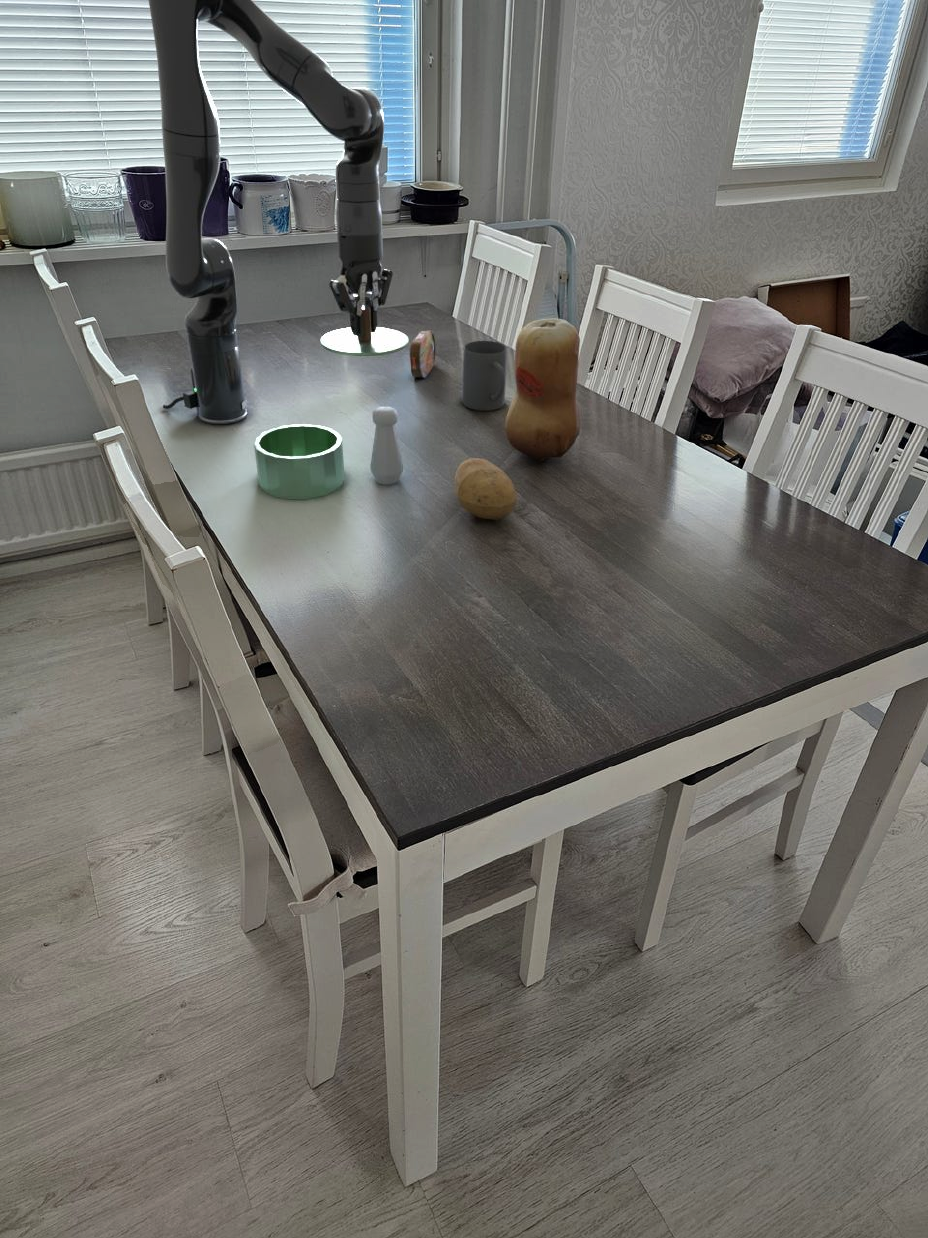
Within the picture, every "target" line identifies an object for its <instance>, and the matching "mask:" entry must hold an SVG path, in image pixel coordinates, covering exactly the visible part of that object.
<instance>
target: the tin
mask: <svg viewBox="0 0 928 1238" xmlns="http://www.w3.org/2000/svg"><path fill="white" fill-rule="evenodd" d="M409 361H410V362H409V363H410V373H411V375H412V377H413V378H424V379H425V378H427V376H428V374H429V373H430V371H431V370H432V369H433V367H434V365H435V363H436V362H435V361H436V339H435V334H434V332H433V330H421V331H419V333H418V334H417V335H416V336H415V338H414V339H413V340H412V341H411V343H410V346H409Z"/></svg>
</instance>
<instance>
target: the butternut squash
mask: <svg viewBox="0 0 928 1238" xmlns="http://www.w3.org/2000/svg"><path fill="white" fill-rule="evenodd" d="M580 344H581V338H580V335H579V332H578V330H577V328H576V327H575V326H574V325H573V324H571V323H570V322H569V321H567V320H565V319H562V318H557V317H555V318H552V317H551V318H541V319H536V320H534V321H530V322H529V323H527V324H526V325H525V326H524V327H522V328H521V330H520V331H519V333H518V335H517V338H516V341H515V349H514V362H513V365H514V366H513V368H514V370H513V371H514V372H513V373H514V381H515V385H516V389H515V395H514V396H513V399H512V401H511V403H510V405H509V408H508V410H507V414H506V417H505V425H504V426H505V429H504V431H505V436H506V438H507V440H508V443H509V444H510V445H511V447H512V448H514V449H515V450H516V451H517V452H519V453H521V454H522V455H524V456H526V457H527V458H529V459H531V460H535V461H538V462H542V461H544V460H545V459H550V458H558V459H559V458H562V457H563V456H564V455H565V454H566V453H568V452H569V451H570V449H571V448H572V447H573V445H574V444H575V442H576V440H577V438H578V437H579V435H580V431H581V429H580V428H581V418H580V410H579V409H580V408H579V405H578V402H577V390H578V376H579V375H578V374H579V357H580Z"/></svg>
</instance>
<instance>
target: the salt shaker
mask: <svg viewBox="0 0 928 1238" xmlns="http://www.w3.org/2000/svg"><path fill="white" fill-rule="evenodd" d="M398 420H399V415H398V410H397V409H395V408H394V407H392V406H379V407H377V408H375V409H373V411H372V422H373V424H374V425H375V430H374V437H373V443H372V452H371V459H370V465H369V468H370V473H371V474H372V476H373V478H374V479H375V481H376V482H377V484H380V485H385V486H390V485H394V484H397V483H398V481H399V479H400V478H401V475H402V473H403V472H404V462H403V458H402V453H401V448H400V442H399V439H398V433H397V429H396V424H397V423H398Z"/></svg>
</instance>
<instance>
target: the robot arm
mask: <svg viewBox="0 0 928 1238" xmlns="http://www.w3.org/2000/svg"><path fill="white" fill-rule="evenodd" d="M148 7H149V12H150V19H151V23H152V24H151V26H152V33H153V38H154V39H153V40H154V45H155V46H154V47H155V52H156V53H155V54H156V62H157V63H156V64H157V72H158V73H157V74H158V85H159V86H158V87H159V95H160V97H159V98H160V113H161V115H160V116H161V135H162V136H161V137H162V148H163V149H162V151H163V159H164V170H165V174H164V175H165V195H166V196H165V197H166V199H165V200H166V226H165V227H166V228H165V229H166V231H165V232H166V233H165V235H166V236H165V269H166V272H167V273H166V274H167V277H168V280H169V283H170V285H171V286H172V288H173V289H174V292H176V293H177V294H178V295H179V296H181V297H182V298H185V299H196V301H195V303H194V305H193V307H192V308H191V309H190V310H189V311H188V313H186V315H185V317H184V326H185V327H184V328H185V333H186V338H187V345H188V352H189V358H190V363H191V368H190V369H189V372H190V377H191V384H192V389H191V390H188V391H184V392H182V396H180V397H178V398H175V399H174V400H172V401H171V402H170V404H167V405H166V404H163V405H162V408H163V409H166V410H169V409H172V408H173V407H174V406H175V405H176V404H178V403H179V402H182V401H183V403H184V407H185V408H188V409H190V410H191V409H196V415H198V417H199V420H200V421H201V422H203V423H206V424H210V425H229V424H235V423H238V422H240V421H242V420H245V419H246V418H247V417H248V410H247V406H248V398H246V397H245V390H244V389H245V388H244V382H243V381H244V380H243V372H242V366H241V358H240V357H241V356H240V349H239V343H238V335H237V329H236V328H237V326H236V321H237V320H236V319H237V315H238V297H237V296H238V295H237V285H236V284H237V283H236V273H235V266H234V262H233V258H232V257H231V254H230V252H229V250H228V248H227V246H226V245H224V243H223V242H222V241H220V240H218V239H217V238H213V237H206V238H205V237H204V238H203V220H204V214H205V211H206V207H207V205H208V202H209V199H210V196H211V195H212V192H213V190H214V187H215V184H216V181H217V178H218V175H219V172H220V166H221V140H220V139H221V138H220V137H221V134H220V131H221V130H220V120H219V117H218V113H217V109H216V106H215V104H214V101H213V98H212V96H211V94H210V91H209V89H208V87H207V84H206V81H205V79H204V76H203V73H202V70H201V65H200V58H199V46H198V45H199V44H198V23H205V22H206V23H207V24H210V25H212V26H214V27H215V28H218V29H219V30H220V31H222V32H225V33H226V34H227V35H229V36H230V37H232V38H233V39H234V40H236V41H237V42H238V43H239V44H240V45H241V46H242V47H243V48H244V49H245V50H246V51H247V53H248V54H249V55H250V57H251V58H252V59H253V62H255V64H256V65H257V67H259V69H260V70H261V72H263V73H264V75H265V76H266V77H267V78H269V80H270V81H272V82H273V83H274V84H275V85H277V86H278V87H279V88H280V89H282V90H283V91H284V92H286V93H287V94H288V95H289V96H291V97H292V98H293V99H295V101H297V102H299V103H300V104H302V105H303V106H304V108H305V109H306V111H307V112H308V114H310V116H312V117H313V119H315V121H316V122H317V123H318V124H319V125H320V126H321V128H323V129H324V130H325V131H326V132H327V133H329V134H330V135H331V136H332V137H334V138H336V139H337V140H340V141H342V142H343V153H342V156H341V158H340V159H339V160H338V161H337V163H336V164H335V189H336V190H335V195H336V209H335V219H336V221H335V222H336V236H337V238H336V239H337V250H338V251H337V254H338V255H337V256H338V259H339V260H340V262H341V269H340V275H339V277H338V278H336V280H333V279H331V280H329V288H330V290H331V292H332V295H333V298H334V299H335V302H336V304H337V306H338V308H339V311H340V312H343V313H347V314H349V323H350V325H349V326H350V328H351V332H352V334H353V335H354V336H358V337H361V336H363V335H364V329H363V315H361V314H362V306H369V307H371V327H372V333H374V332H376V328H377V327H378V310H379V307H381V306H384V305H385V304H386V302H387V299H388V294H389V290H390V286H391V282H392V279H393V275H394V273H393V271H392V270H390V269H385V268H383V267H382V264H381V260H383V257H384V245H383V244H384V243H383V242H384V241H383V216H382V215H383V214H382V206H381V199H380V197H381V196H380V195H381V193H380V174H379V173H380V172H379V169H380V162H381V158H382V157H381V156H382V150H383V142H384V135H385V116H384V115H385V113H384V110H383V105H382V104H381V101H380V99H379V97H378V96H377V95H376V93H375V92H373V90H371V89H370V88H366V87H353V88H352V87H351V88H348V87H347V86H345V85H344V84H342V83H341V82H340V81H338V80H337V79H336V78H335V77H334V76H333V71H332V69H331V67H330V65H329V64H328V63H327V62H326V61H325V60H324V59H323V58H322V57H320V56H319V55H318V54H317V53H316V52H315V51H313V50H312V49H311V48H309V47H308V46H307V45H306V44H304V43H303V42H301V41H300V40H299V39H298V38H296V37H295V36H294V35H292V34H291V33H289V31H288V30H286V29H285V28H283V26H281V25H280V24H279V23H278V22H276V21H275V20H274V19H273V18H272V17H271V16H269V15H268V14H267V13H266V12H265V11H264V10H263V9H262V8H261V7H260V6H259V5H257V3H256V2H254V0H148Z"/></svg>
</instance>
